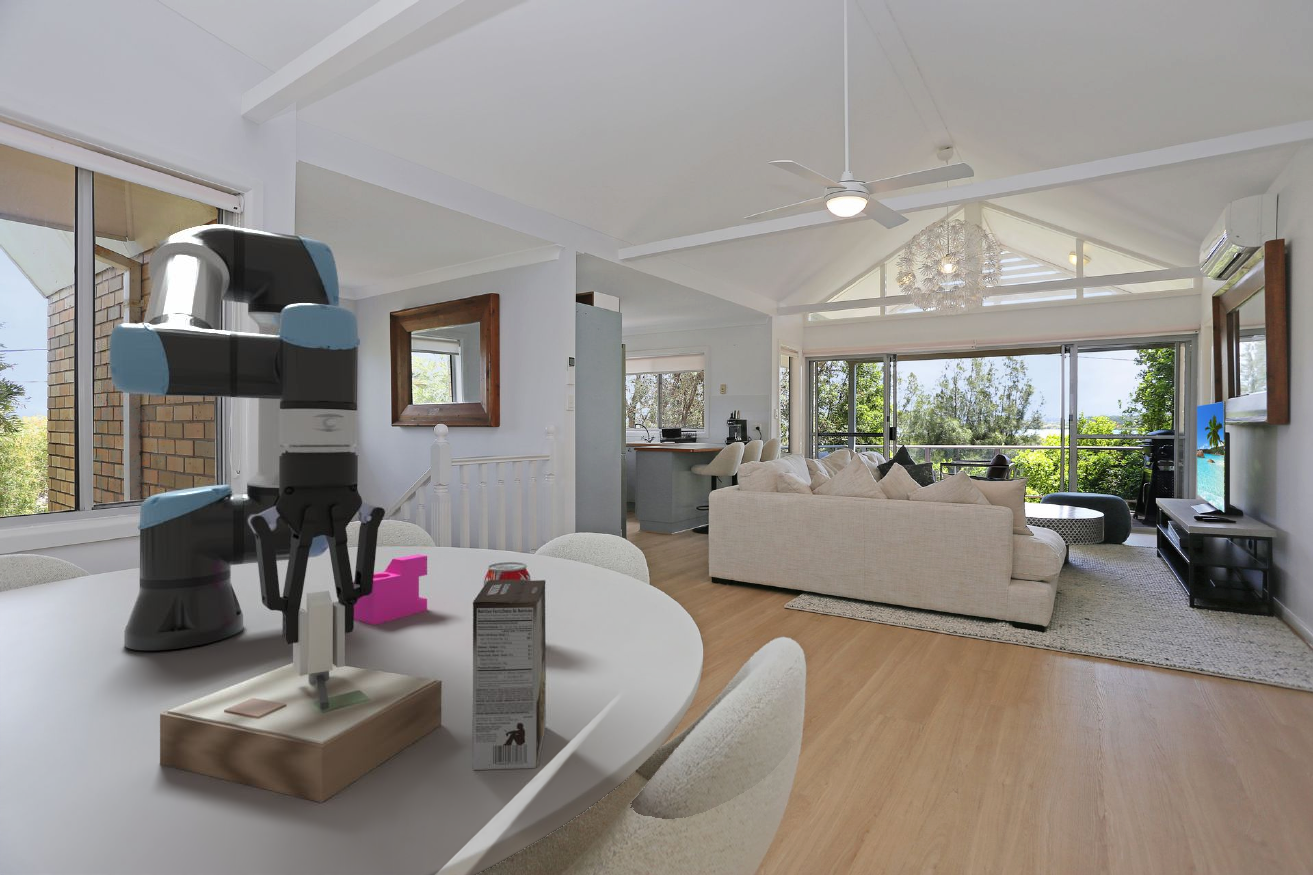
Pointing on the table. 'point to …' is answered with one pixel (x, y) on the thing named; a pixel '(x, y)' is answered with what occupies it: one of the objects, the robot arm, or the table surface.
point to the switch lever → (320, 641)
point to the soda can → (507, 572)
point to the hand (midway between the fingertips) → (318, 667)
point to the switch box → (300, 729)
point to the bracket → (394, 592)
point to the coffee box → (509, 674)
